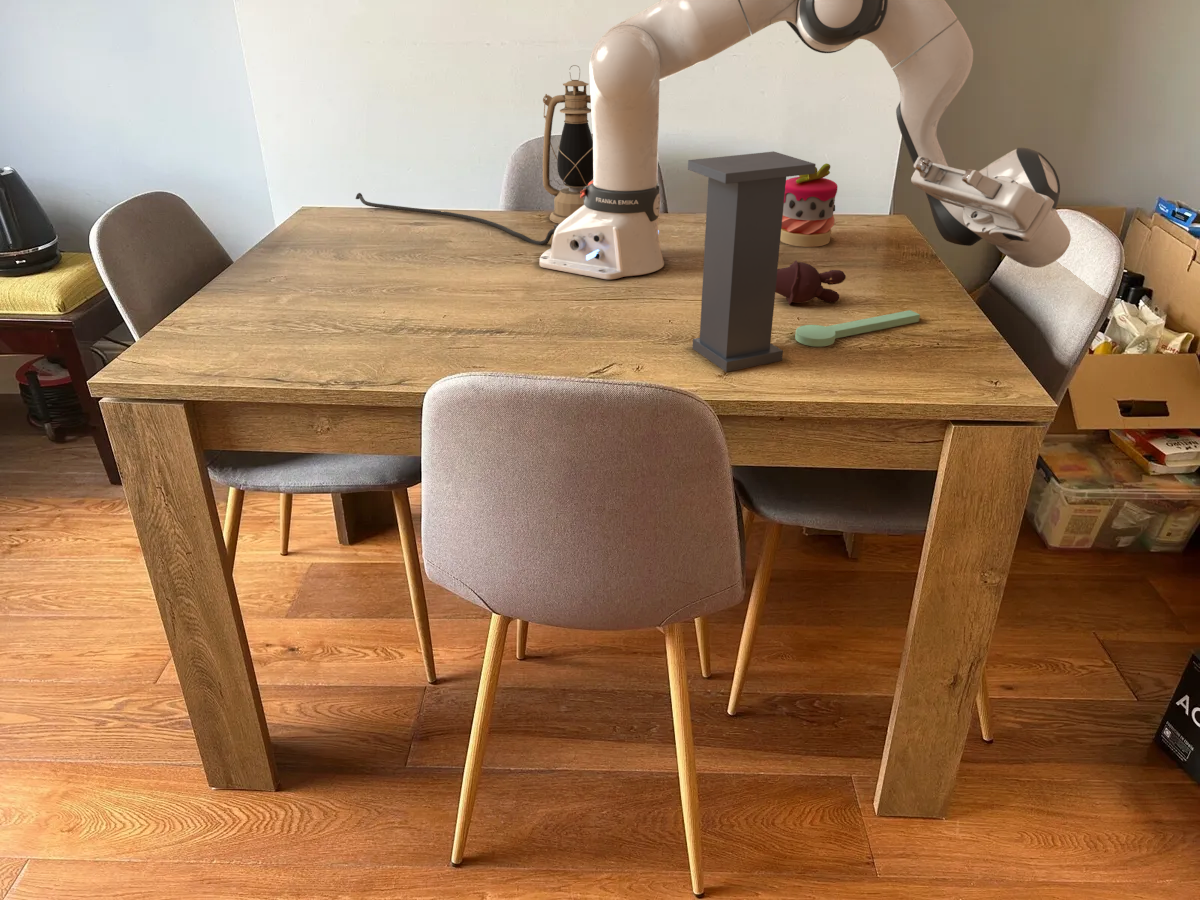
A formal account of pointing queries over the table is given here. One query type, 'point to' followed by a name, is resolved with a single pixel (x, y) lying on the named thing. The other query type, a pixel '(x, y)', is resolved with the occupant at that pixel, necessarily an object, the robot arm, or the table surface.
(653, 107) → the robot arm
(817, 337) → the spoon
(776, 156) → the stand
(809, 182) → the cake
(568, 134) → the lantern
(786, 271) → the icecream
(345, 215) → the table surface
